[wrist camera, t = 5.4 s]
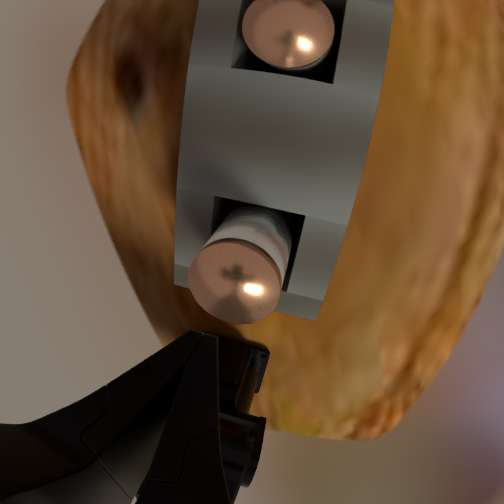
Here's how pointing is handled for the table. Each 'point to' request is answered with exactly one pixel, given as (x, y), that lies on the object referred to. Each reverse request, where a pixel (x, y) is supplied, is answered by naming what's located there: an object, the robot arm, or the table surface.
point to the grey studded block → (277, 140)
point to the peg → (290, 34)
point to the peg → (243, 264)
